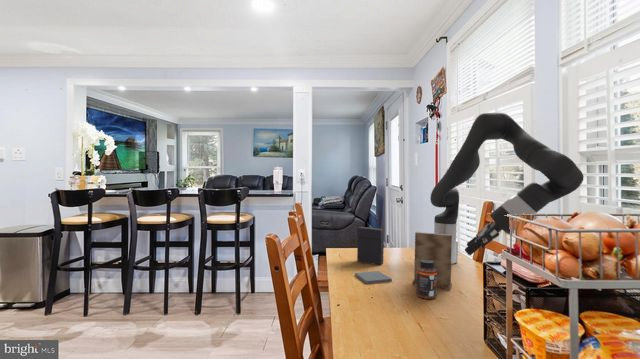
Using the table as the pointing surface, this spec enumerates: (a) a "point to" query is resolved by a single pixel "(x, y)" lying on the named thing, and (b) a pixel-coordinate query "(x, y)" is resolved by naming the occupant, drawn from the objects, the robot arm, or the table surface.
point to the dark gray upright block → (370, 245)
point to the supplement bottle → (426, 280)
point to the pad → (373, 277)
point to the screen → (434, 256)
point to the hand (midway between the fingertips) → (467, 249)
